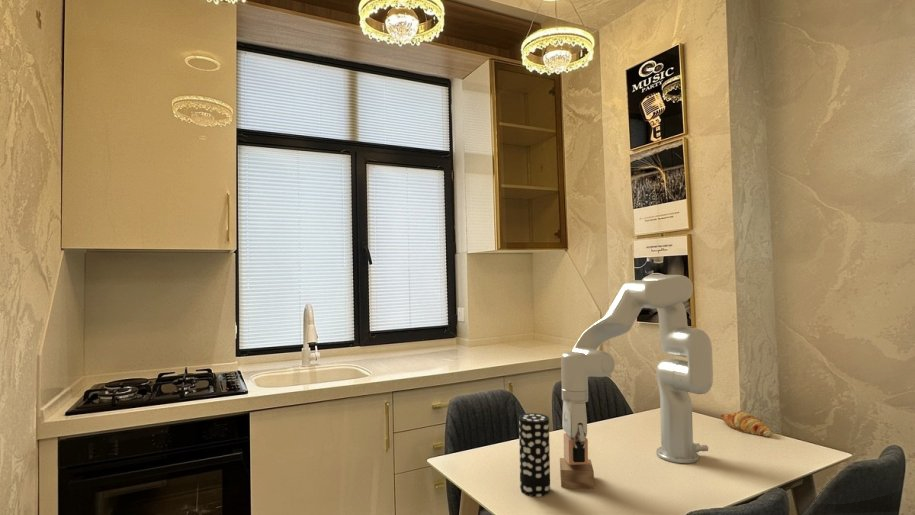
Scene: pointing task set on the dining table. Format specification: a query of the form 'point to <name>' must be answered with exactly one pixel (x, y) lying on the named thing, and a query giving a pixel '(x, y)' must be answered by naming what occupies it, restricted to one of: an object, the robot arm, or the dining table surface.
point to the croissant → (746, 423)
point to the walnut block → (576, 475)
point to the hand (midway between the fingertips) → (575, 456)
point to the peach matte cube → (569, 450)
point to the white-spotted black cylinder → (534, 454)
